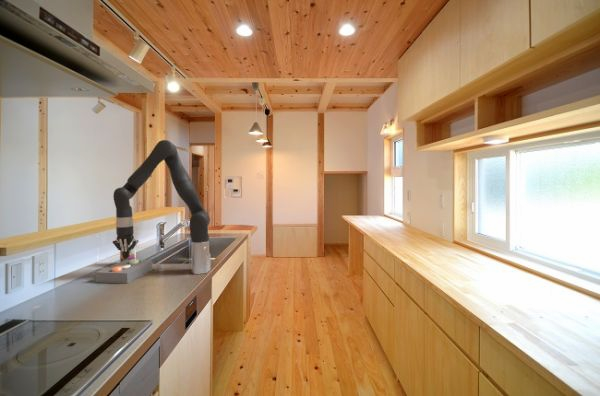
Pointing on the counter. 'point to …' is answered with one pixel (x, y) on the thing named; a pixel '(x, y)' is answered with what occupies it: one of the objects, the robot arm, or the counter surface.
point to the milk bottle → (132, 255)
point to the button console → (123, 272)
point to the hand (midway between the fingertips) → (126, 258)
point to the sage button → (133, 261)
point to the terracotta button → (116, 268)
